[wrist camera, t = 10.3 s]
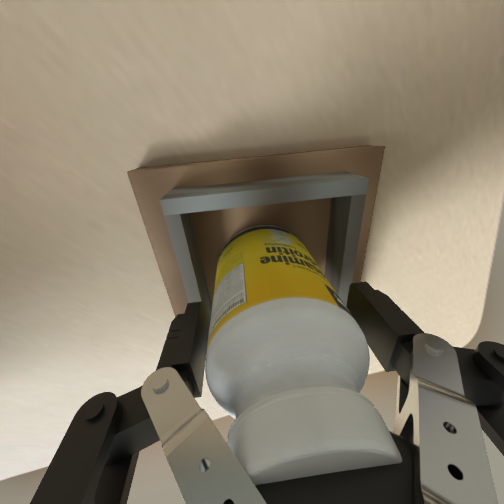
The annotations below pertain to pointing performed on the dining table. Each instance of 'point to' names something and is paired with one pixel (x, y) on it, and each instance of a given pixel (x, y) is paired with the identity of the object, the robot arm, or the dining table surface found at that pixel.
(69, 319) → the dining table surface
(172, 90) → the dining table surface
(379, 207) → the dining table surface
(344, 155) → the collar board
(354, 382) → the pill bottle
